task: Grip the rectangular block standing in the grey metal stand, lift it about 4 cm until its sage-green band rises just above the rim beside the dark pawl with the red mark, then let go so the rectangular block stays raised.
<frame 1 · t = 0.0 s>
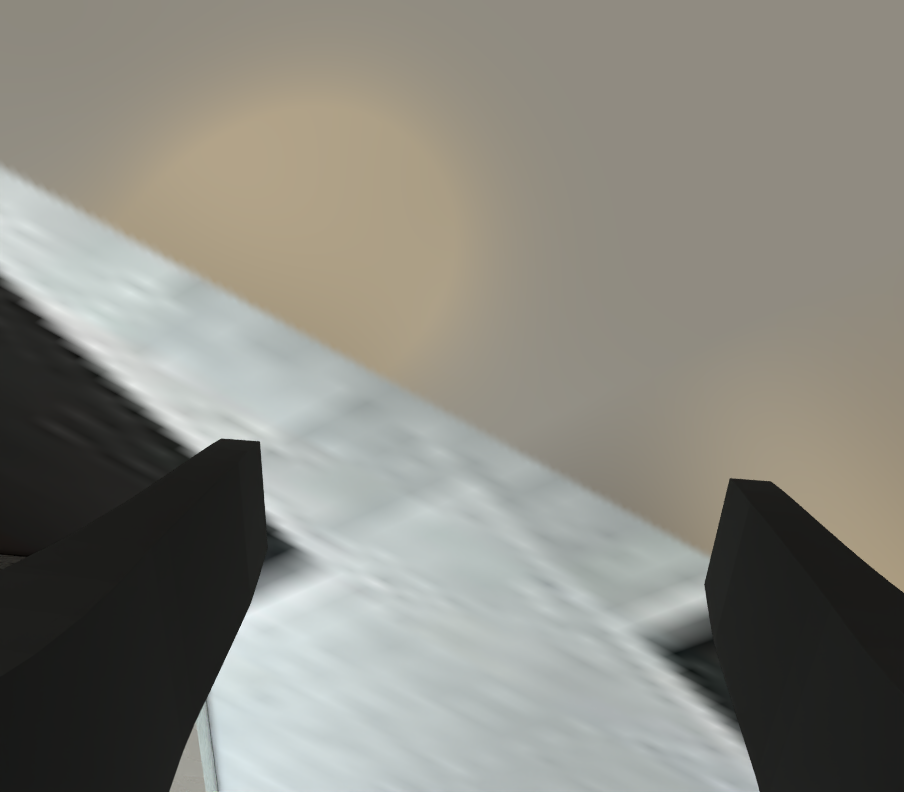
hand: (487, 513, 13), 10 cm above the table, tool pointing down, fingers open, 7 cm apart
stand: (54, 677, 30), on the table
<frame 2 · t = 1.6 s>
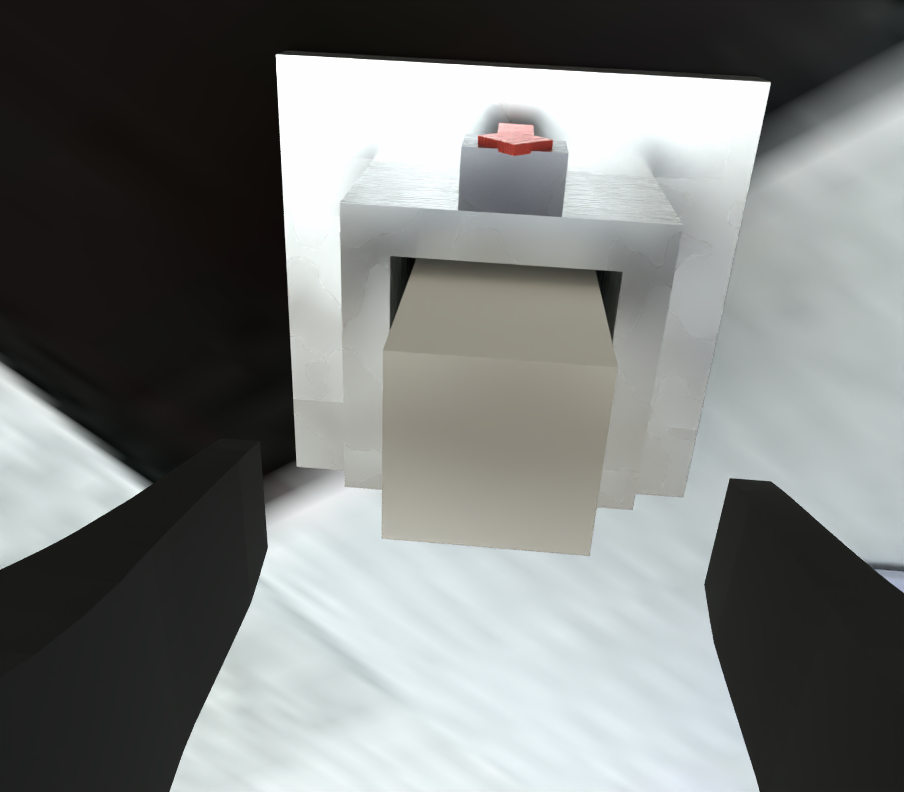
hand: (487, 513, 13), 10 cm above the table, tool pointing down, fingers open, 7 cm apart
rectangular block: (498, 359, 18), point 5 cm above the table, slide at 0.0 cm
stand: (502, 286, 22), on the table
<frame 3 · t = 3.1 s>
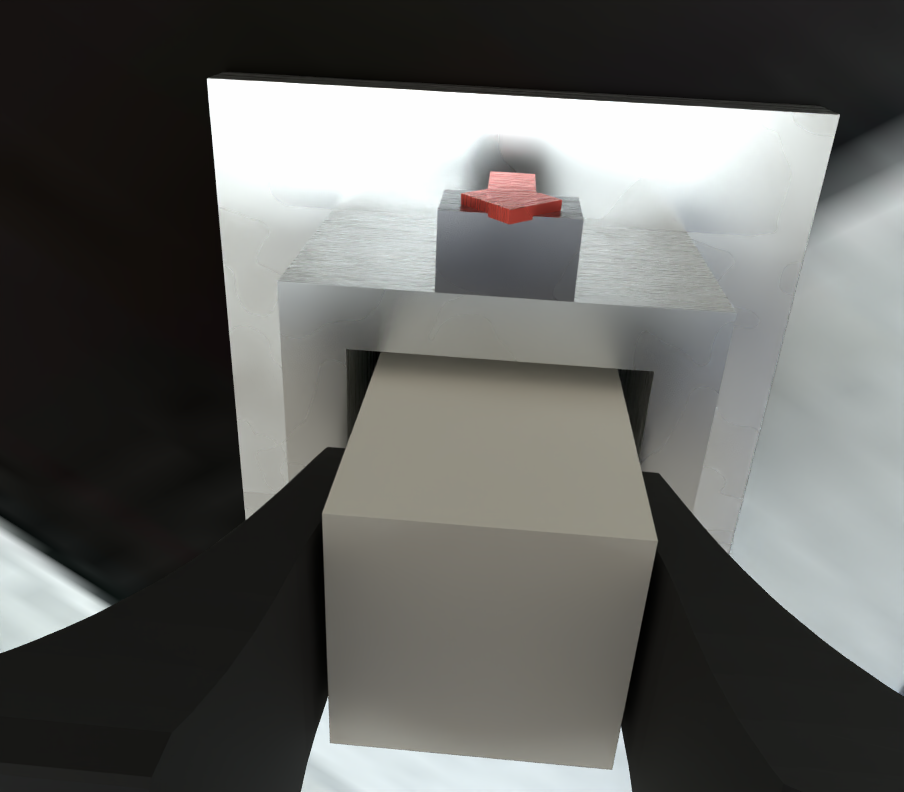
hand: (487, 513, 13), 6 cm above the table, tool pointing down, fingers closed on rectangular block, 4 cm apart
rectangular block: (489, 473, 14), point 5 cm above the table, slide at 0.0 cm, touching gripper
stand: (497, 358, 18), on the table
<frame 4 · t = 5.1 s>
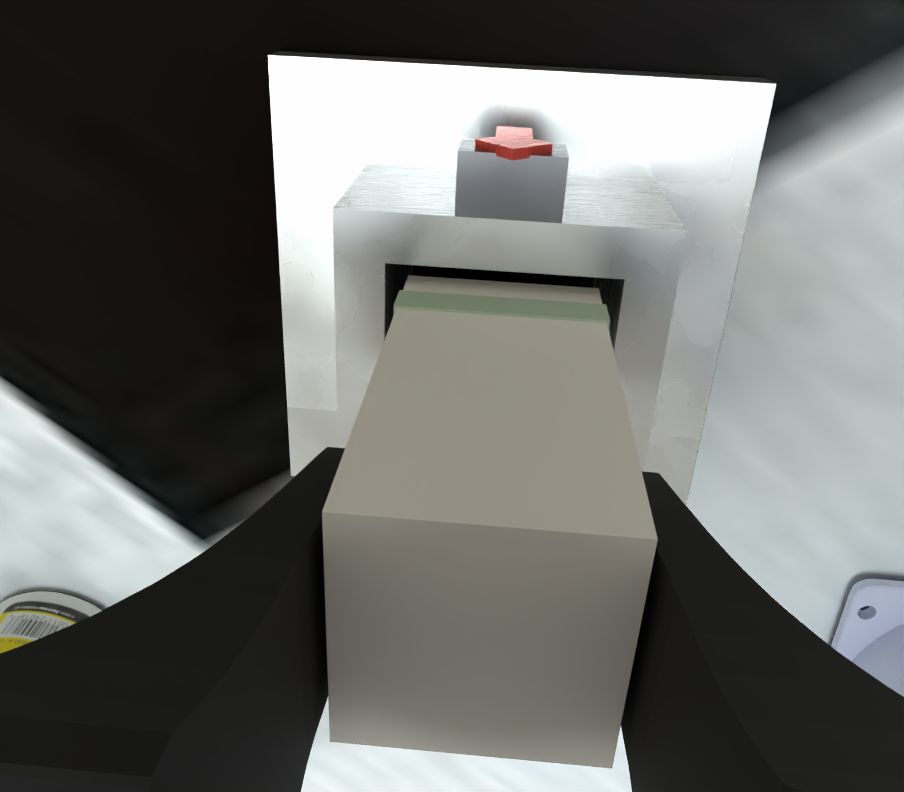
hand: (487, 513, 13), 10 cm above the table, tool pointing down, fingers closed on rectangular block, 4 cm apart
rectangular block: (489, 472, 14), point 9 cm above the table, slide at 4.0 cm, touching gripper
stand: (501, 292, 21), on the table
supplement bottle: (69, 642, 29), on the table
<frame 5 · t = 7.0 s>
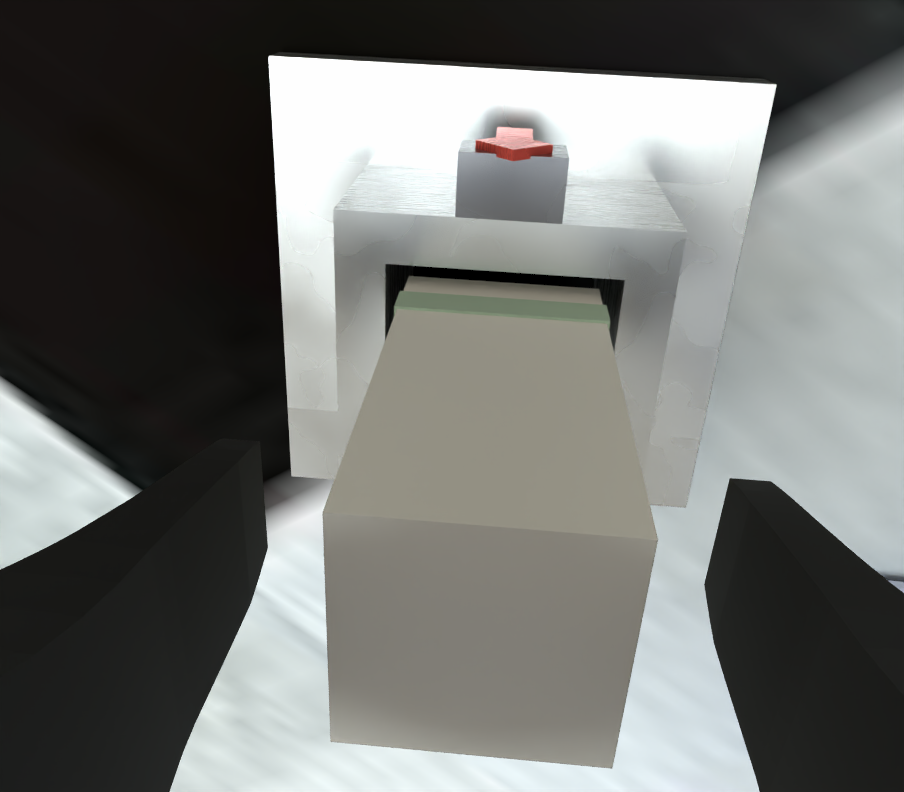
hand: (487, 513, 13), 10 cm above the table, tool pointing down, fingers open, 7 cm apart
rectangular block: (490, 472, 14), point 9 cm above the table, slide at 4.0 cm
stand: (501, 293, 21), on the table
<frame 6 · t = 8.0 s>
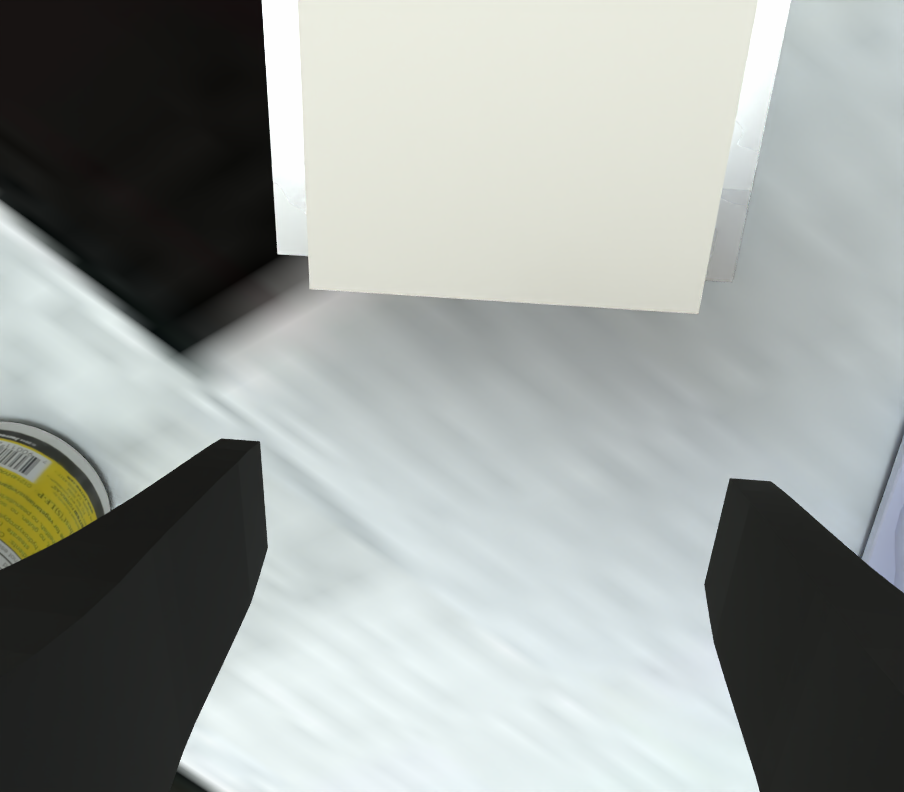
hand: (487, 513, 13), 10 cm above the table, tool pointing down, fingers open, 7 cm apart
rectangular block: (518, 52, 11), point 9 cm above the table, slide at 4.0 cm
stand: (519, 15, 18), on the table
supplement bottle: (34, 488, 26), on the table
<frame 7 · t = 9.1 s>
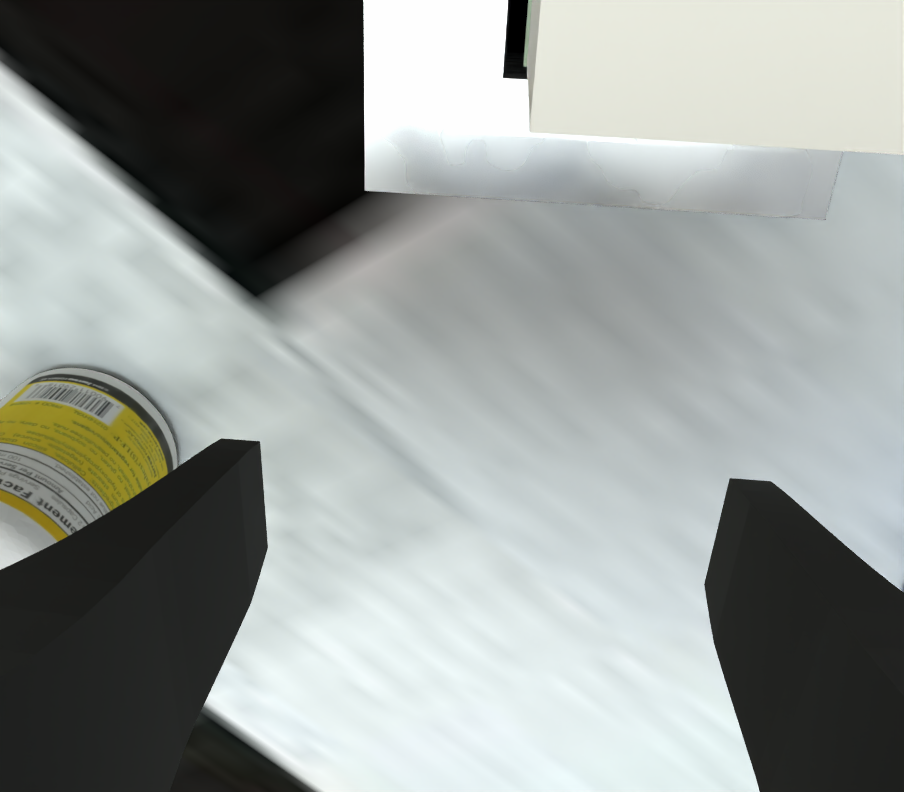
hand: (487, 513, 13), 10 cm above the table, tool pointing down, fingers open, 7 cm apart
supplement bottle: (99, 438, 26), on the table
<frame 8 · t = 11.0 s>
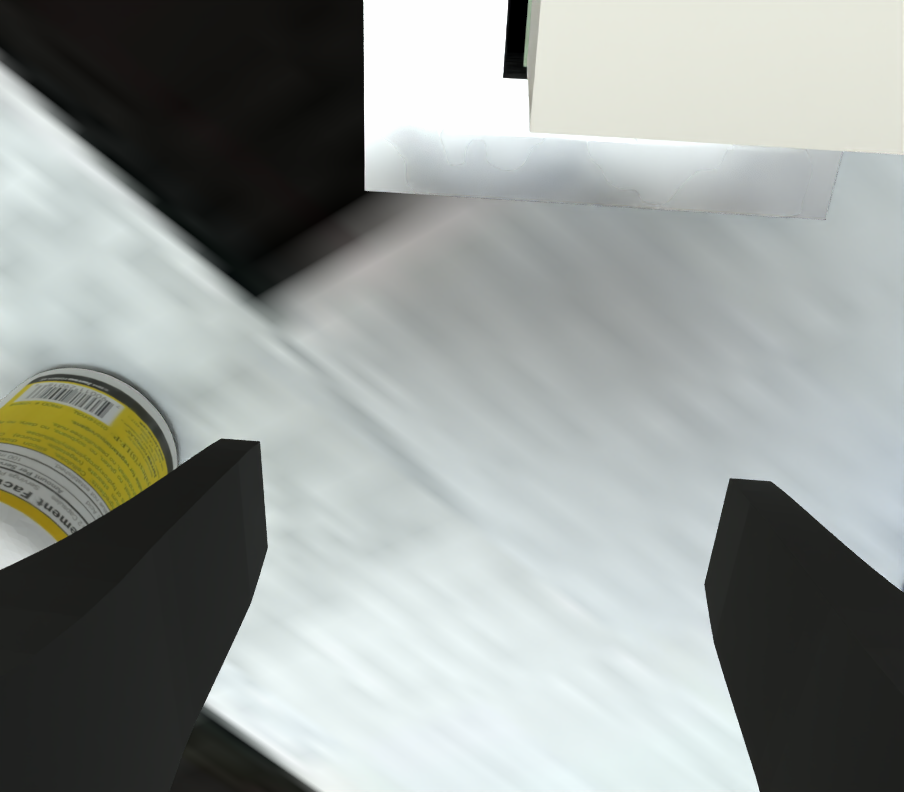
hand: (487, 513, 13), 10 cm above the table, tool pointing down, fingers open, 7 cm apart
supplement bottle: (99, 438, 26), on the table
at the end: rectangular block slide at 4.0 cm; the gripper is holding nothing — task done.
